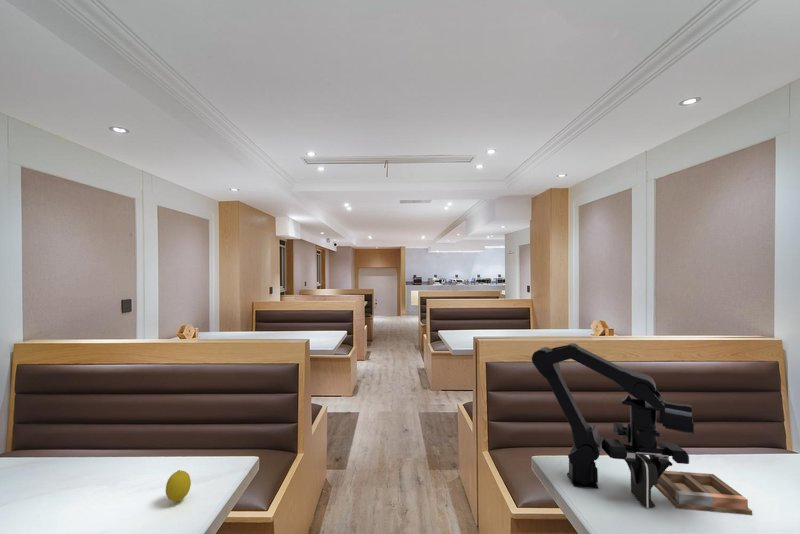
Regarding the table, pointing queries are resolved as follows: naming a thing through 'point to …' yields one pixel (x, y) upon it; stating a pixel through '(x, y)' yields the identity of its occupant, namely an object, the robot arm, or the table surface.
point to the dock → (701, 493)
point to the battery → (644, 481)
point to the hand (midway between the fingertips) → (644, 483)
